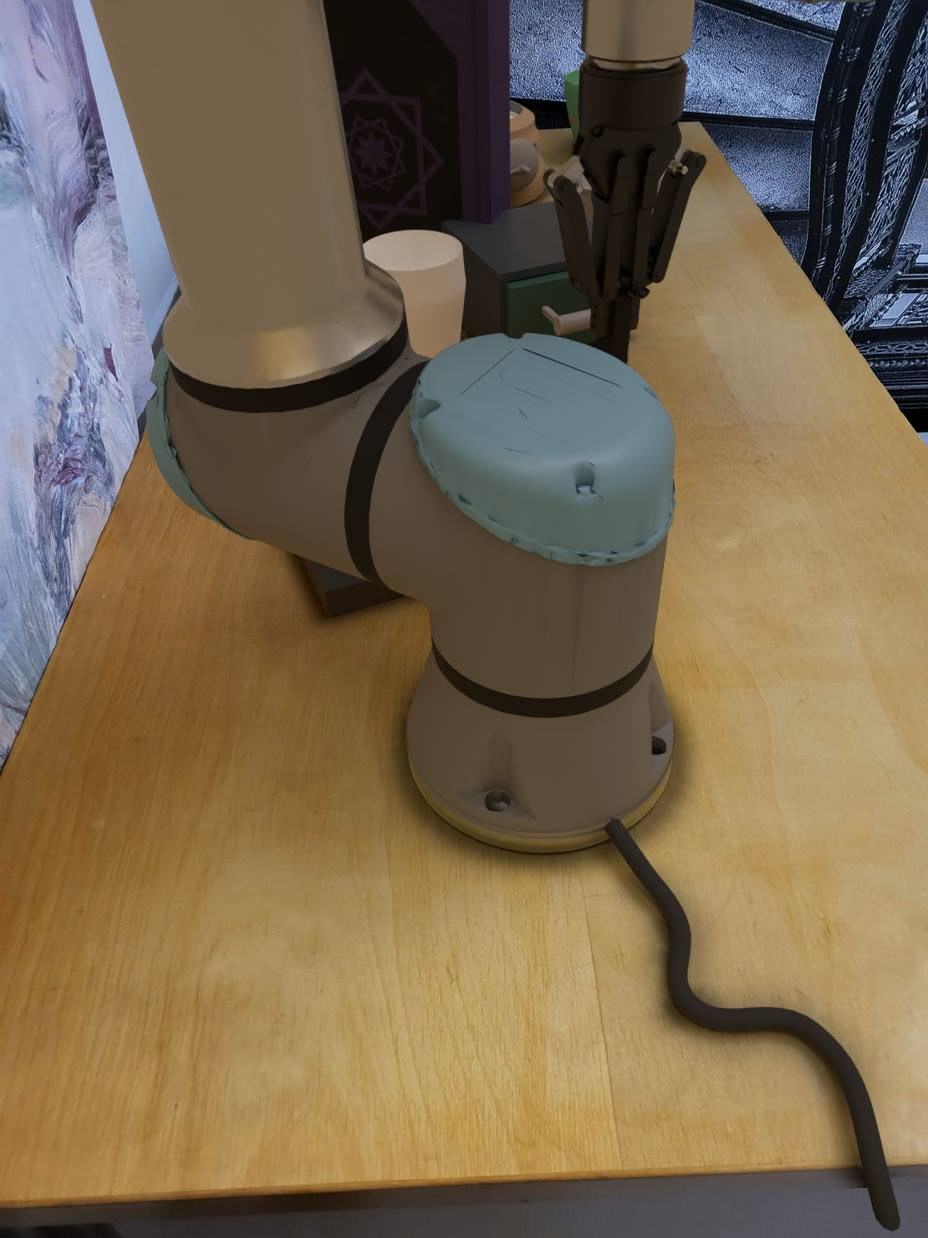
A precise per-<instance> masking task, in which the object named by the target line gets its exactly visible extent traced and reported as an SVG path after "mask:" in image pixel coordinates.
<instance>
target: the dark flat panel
mask: <svg viewBox="0 0 928 1238" xmlns="http://www.w3.org/2000/svg"><path fill="white" fill-rule="evenodd" d="M299 557H300V560H301V562H302V564H303V566H304V568H305V570H306V573H307V574H308V576H309V579H310V581H311V583H312V584H313V587H314V589H315V591H316V593H317V595H318V598H319V599H320V602H321V604H322V607H323V608H324V610H325V612H326V615H327V616H328V618H331V617H334V616H338V615H340V614H345V613H348V612H352V611H354V610H359V609H361V608H366V607H370V606H372V605H377V604H379V603H383V602H386V601H390V600H393V599H396V598H400V597H403V596H405V595H404V594H401V593H398V592H396V591H393V590H390V589H388V588H385V587H383V586H380V585H377V584H374V583H372V582H369V581H366V580H364V579H361V578H358V577H356V576H353V575H350V574H347V573H345V572H342V571H339V570H336V569H334V568H331V567H328V566H326V565H323V564H320V563H317V562H315V561H312V560H309V559H306V558H304V557H301V556H299Z"/></svg>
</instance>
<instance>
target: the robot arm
mask: <svg viewBox="0 0 928 1238" xmlns="http://www.w3.org/2000/svg"><path fill="white" fill-rule="evenodd" d="M792 1H793V2H804V3H807V5H812V6H816V5H817V4H820V3H822V2H823V3H827V2H828V3H870V2H872V1H873V0H791V2H792ZM89 2H90V5H91V9H92V12H93V15H94V18H95V22H96V24H97V29H98V31H99V34H100V37H101V41H102V44H103V47H104V50H105V53H106V57H107V60H108V62H109V66H110V69H111V72H112V75H113V79H114V82H115V86H116V88H117V92H118V95H119V98H120V102H121V104H122V108H123V111H124V114H125V117H126V120H127V124H128V127H129V130H130V133H131V136H132V139H133V143H134V146H135V149H136V153H137V155H138V158H139V162H140V165H141V168H142V172H143V175H144V178H145V181H146V184H147V189H148V191H149V194H150V197H151V200H152V204H153V207H154V210H155V213H156V216H157V220H158V223H159V226H160V229H161V232H162V236H163V240H164V242H165V246H166V249H167V251H168V255H169V258H170V261H171V264H172V268H173V270H174V271H173V272H174V274H175V277H176V280H177V283H178V287H179V290H180V293H181V294H180V295H179V297H178V299H177V300H176V302H175V303H174V305H173V306H172V308H171V309H170V310H169V313H167V316H166V318H165V319H164V322H163V326H162V330H161V331H162V332H161V337H162V343H163V346H162V347H161V348H160V350H159V352H158V354H157V356H156V359H155V361H154V363H153V366H152V370H151V373H150V378H149V381H150V382H151V383H152V384H154V386H155V387H156V390H155V393H154V398H151V399H148V400H147V401H146V404H145V421H146V432H147V437H148V442H149V447H150V449H151V450H150V451H151V452H152V455H153V459H154V461H155V464H156V466H157V468H158V470H159V472H160V474H161V476H162V477H163V479H164V481H165V483H166V484H167V485H168V487H169V488H170V490H171V491H172V492H173V494H175V496H177V498H178V499H179V500H180V501H182V503H184V504H185V506H187V507H188V508H189V509H191V510H193V511H194V512H195V513H197V514H198V515H201V516H203V517H205V518H206V519H208V520H211V521H213V522H214V523H216V524H218V525H219V526H221V527H222V528H223V529H225V530H227V531H229V532H230V533H232V534H234V535H235V536H239V537H240V538H243V539H245V540H248V541H256V542H261V543H262V544H265V545H268V546H271V547H273V548H277V549H279V550H282V551H284V552H288V553H290V554H292V555H296V556H298V557H300V556H301V557H304V558H306V559H309V560H312V561H315V562H317V563H320V564H323V565H326V566H328V567H331V568H334V569H336V570H339V571H342V572H345V573H347V574H350V575H353V576H356V577H358V578H361V579H364V580H366V581H369V582H372V583H374V584H377V585H380V586H383V587H385V588H388V589H390V590H393V591H396V592H398V593H401V594H404V596H407V597H409V598H412V599H414V600H417V601H419V602H421V603H423V604H424V605H425V606H426V608H428V609H427V611H428V618H429V620H428V621H429V627H430V628H429V630H430V639H431V642H430V643H431V647H430V651H429V653H428V656H427V658H426V661H425V664H424V667H423V669H422V672H421V674H420V678H419V681H418V684H417V687H416V690H415V692H414V694H413V697H412V700H411V702H410V706H409V709H408V713H407V717H406V726H405V739H406V746H407V756H408V763H409V767H410V773H411V775H412V778H413V780H414V783H415V785H416V787H417V789H418V790H419V792H420V794H421V796H422V797H423V798H424V800H425V801H426V803H427V804H428V805H429V806H430V807H431V809H432V810H433V811H434V812H435V813H436V814H437V815H439V816H440V817H441V819H443V820H444V821H445V822H447V823H448V824H450V825H451V826H452V827H454V828H455V829H457V830H458V831H460V832H461V833H463V834H465V835H467V836H469V837H471V838H473V839H476V840H477V841H480V842H483V843H485V844H488V845H491V846H494V847H498V848H502V849H504V850H505V849H507V850H511V851H517V852H524V853H535V854H536V853H542V854H546V853H547V854H550V853H551V854H552V853H563V852H570V851H571V852H572V851H576V850H580V849H585V848H589V847H591V846H592V847H593V846H595V845H598V844H602V843H604V842H606V841H608V840H611V842H612V844H613V845H614V846H615V848H616V849H617V851H618V852H619V854H620V855H621V856H622V858H623V860H624V861H625V862H626V864H627V865H628V867H629V868H630V870H631V872H632V873H633V874H634V876H635V877H636V878H637V881H639V883H640V884H641V885H642V886H643V888H644V889H645V891H647V893H648V894H649V895H650V896H651V898H652V899H653V901H654V902H655V903H656V905H657V906H658V907H659V909H660V911H661V912H662V914H663V916H664V918H665V919H666V922H667V925H668V927H669V931H670V938H671V944H670V951H669V958H668V965H667V974H666V980H667V987H668V991H669V994H670V996H671V998H672V1000H673V1002H674V1004H675V1005H676V1006H677V1007H678V1009H679V1010H680V1011H681V1012H682V1013H683V1014H684V1015H685V1016H686V1017H688V1018H689V1019H690V1020H691V1021H693V1022H695V1023H697V1024H698V1025H701V1026H703V1027H704V1028H705V1027H706V1028H709V1029H713V1030H715V1031H724V1032H746V1031H765V1030H772V1031H784V1032H787V1033H792V1034H794V1035H796V1036H797V1037H800V1038H801V1039H802V1040H803V1041H806V1042H807V1043H808V1044H809V1045H810V1046H811V1047H812V1048H813V1049H814V1050H816V1052H817V1053H818V1054H819V1055H820V1056H821V1057H822V1058H823V1060H824V1061H825V1062H826V1063H827V1065H828V1066H829V1068H830V1069H831V1070H832V1072H833V1074H834V1076H835V1077H836V1079H837V1081H838V1084H839V1086H840V1088H841V1091H842V1093H843V1096H844V1099H845V1102H846V1104H847V1108H848V1111H849V1115H850V1119H851V1124H852V1128H853V1132H854V1135H855V1141H856V1146H857V1151H858V1155H859V1160H860V1164H861V1169H862V1173H863V1177H864V1181H865V1185H866V1189H867V1192H868V1195H869V1200H870V1204H871V1208H872V1209H871V1210H872V1212H873V1214H874V1217H875V1220H876V1221H877V1223H879V1225H880V1226H881V1227H882V1228H883V1229H884V1230H887V1231H890V1232H894V1231H895V1232H896V1231H897V1230H899V1228H900V1226H901V1217H900V1211H899V1208H898V1203H897V1199H896V1196H895V1195H896V1194H895V1191H894V1188H893V1184H892V1180H891V1175H890V1173H889V1169H888V1164H887V1161H886V1156H885V1152H884V1147H883V1141H882V1137H881V1134H880V1130H879V1126H878V1121H877V1118H876V1114H875V1110H874V1107H873V1104H872V1103H873V1102H872V1100H871V1097H870V1094H869V1092H868V1089H867V1086H866V1084H865V1082H864V1079H863V1077H862V1075H861V1073H860V1071H859V1069H858V1067H857V1066H856V1063H854V1060H853V1059H852V1057H851V1056H850V1055H849V1053H848V1052H847V1050H846V1049H845V1048H844V1046H843V1045H842V1044H841V1043H840V1042H839V1041H838V1040H837V1039H836V1038H835V1036H833V1035H832V1034H831V1033H830V1032H829V1031H828V1030H827V1029H826V1028H824V1026H822V1025H821V1024H820V1023H818V1022H817V1020H814V1019H812V1018H811V1017H809V1016H808V1015H806V1014H805V1013H801V1012H799V1011H797V1010H794V1009H789V1008H785V1007H777V1006H753V1007H736V1008H735V1007H730V1008H729V1007H718V1006H714V1005H710V1004H708V1003H706V1002H705V1001H703V1000H702V999H701V998H699V997H698V996H697V995H696V994H695V992H694V991H693V990H692V988H691V987H690V983H689V978H688V975H689V974H688V972H689V965H690V957H691V951H692V950H691V949H692V931H691V926H690V923H689V920H688V919H689V918H688V916H687V914H686V912H685V910H684V908H683V905H681V902H680V901H679V899H678V898H677V896H676V895H675V894H674V892H673V890H671V887H669V885H668V884H667V883H666V881H664V879H662V877H661V876H660V874H659V873H658V872H657V871H656V869H655V868H654V867H653V865H652V864H651V863H650V861H649V859H648V858H647V857H646V855H645V853H643V851H642V849H641V848H640V847H639V845H638V844H637V843H636V841H635V840H634V838H633V837H632V836H631V834H630V832H629V831H628V829H630V828H631V827H633V826H635V825H636V824H637V823H638V822H640V820H642V819H643V818H644V817H645V816H646V815H647V814H648V813H649V812H650V811H651V810H652V808H653V807H654V806H655V805H656V803H657V802H658V801H659V799H660V798H661V796H662V795H663V792H664V791H665V788H666V786H667V784H668V781H669V777H670V774H671V769H672V764H673V758H674V757H673V756H674V753H675V752H674V751H675V743H676V730H675V723H674V721H675V720H674V717H673V714H672V709H671V706H670V702H669V700H668V696H667V694H666V691H665V687H664V684H663V681H662V677H661V675H660V671H659V668H658V664H657V663H656V659H655V656H654V652H653V651H654V646H655V645H654V644H655V636H656V629H657V628H656V627H657V620H658V613H659V605H660V599H661V591H662V590H661V589H662V584H663V576H664V569H665V560H666V554H667V545H668V538H669V531H670V529H671V528H672V524H673V522H674V512H675V508H676V504H677V501H676V499H675V496H676V492H677V490H676V485H675V479H674V472H675V457H676V436H675V434H676V433H675V429H674V425H673V424H674V423H673V421H672V418H671V415H670V413H669V411H668V410H667V408H666V407H665V406H664V405H663V404H662V402H661V399H660V396H659V394H658V393H657V392H656V390H655V389H654V387H653V386H652V384H650V383H649V382H648V381H647V379H645V378H644V377H643V376H642V375H641V374H640V373H639V372H638V371H636V370H635V369H634V368H632V367H631V366H630V365H628V362H629V361H628V359H629V350H630V349H629V348H630V347H629V346H630V337H631V331H635V330H637V328H638V325H639V320H640V319H639V318H640V308H641V300H645V299H646V298H648V296H649V294H650V292H651V290H650V289H649V288H648V287H649V286H650V285H652V284H653V283H654V284H660V283H662V282H663V281H664V280H665V277H666V274H667V271H668V268H669V264H670V262H671V257H672V255H673V252H674V248H675V245H676V241H677V239H678V235H679V231H680V228H681V225H682V222H683V219H684V216H685V212H686V208H687V205H688V202H689V199H690V196H691V193H692V189H693V187H694V185H695V184H696V182H697V180H698V179H699V177H700V175H701V174H702V173H703V170H704V169H705V167H706V165H707V157H706V155H705V154H703V153H701V152H699V151H697V150H695V149H692V148H690V147H688V146H686V145H685V144H684V143H683V135H682V131H681V128H680V125H679V119H681V117H682V115H683V113H684V105H685V96H686V87H687V79H688V78H687V77H688V68H689V67H688V64H687V63H686V61H685V59H684V58H683V56H684V55H686V54H687V53H688V52H689V51H690V49H691V47H692V37H693V28H694V27H693V25H694V14H695V6H696V5H695V3H696V0H582V9H581V34H580V50H581V51H582V52H583V53H584V54H585V56H586V57H585V58H584V59H583V61H582V62H581V63H580V65H579V69H578V70H579V91H578V118H579V132H578V135H577V138H576V140H575V142H573V145H572V148H571V154H572V155H571V157H570V158H569V159H568V160H567V161H565V162H564V163H563V164H562V165H561V166H560V167H559V168H558V169H557V170H556V169H553V168H548V169H546V172H545V173H544V175H543V182H544V184H545V189H547V191H548V192H549V194H550V196H551V197H552V199H553V201H555V207H556V212H557V217H558V223H559V228H560V233H561V239H562V244H563V249H564V255H565V260H566V265H567V271H568V276H569V281H570V284H571V286H572V287H574V288H575V289H576V290H577V291H579V292H580V293H581V294H583V295H584V296H585V297H586V298H591V315H590V328H591V331H592V332H593V333H595V334H596V335H597V344H596V347H594V346H592V345H590V346H588V345H586V344H583V343H579V342H576V341H572V340H569V339H565V338H561V337H556V336H551V335H543V334H535V333H524V334H523V335H522V337H521V338H520V339H513V338H509V337H507V336H506V335H505V334H503V333H499V334H490V335H484V336H477V337H474V338H473V337H471V338H467V339H464V340H462V341H460V342H459V343H456V344H454V345H452V346H449V347H447V348H446V349H444V350H442V351H441V352H439V353H438V354H437V355H436V356H435V357H434V358H430V357H426V356H422V355H419V354H416V353H415V352H414V351H413V349H412V347H411V344H410V338H409V330H408V325H407V318H406V311H405V303H404V297H403V293H402V290H401V288H400V286H399V284H398V283H397V281H396V280H395V279H394V278H393V277H392V276H391V275H390V274H389V273H388V272H386V271H385V270H383V269H381V268H380V267H378V266H377V265H375V264H374V263H372V262H371V261H369V260H367V259H366V258H365V254H364V248H363V242H362V236H361V230H360V223H359V217H358V211H357V205H356V199H355V193H354V187H353V181H352V175H351V169H350V163H349V156H348V150H347V144H346V138H345V132H344V126H343V120H342V114H341V108H340V102H339V96H338V90H337V83H336V77H335V71H334V65H333V59H332V53H331V47H330V41H329V35H328V29H327V23H326V17H325V10H324V4H323V0H89ZM665 170H666V171H665ZM664 172H665V173H664ZM582 174H583V175H584V177H585V178H586V180H587V181H588V183H589V185H590V186H591V202H592V205H593V224H592V241H591V246H590V240H589V234H588V228H587V222H586V216H585V210H584V206H583V202H582V200H581V197H580V195H579V194H580V193H582V191H583V187H582V182H581V176H582ZM663 174H664V176H663V178H662V181H661V184H660V188H659V191H658V182H659V180H660V178H661V177H662V175H663ZM657 192H658V195H657ZM653 208H654V209H653ZM652 209H653V212H652ZM618 283H619V284H620V289H619V288H618V287H617V284H618ZM301 557H300V558H301Z"/></svg>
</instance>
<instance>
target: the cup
mask: <svg viewBox="0 0 928 1238" xmlns="http://www.w3.org/2000/svg"><path fill="white" fill-rule="evenodd" d="M363 248H364V254H365V258H366V259H367V260H369V261H371V262H372V263H374V264H375V265H377V266H378V267H380V268H381V269H383V270H385V271H386V272H388V273H389V274H390V275H391V276H392V277H393V278H394V279H395V280H396V281H397V283H398V284H399V286H400V288H401V290H402V293H403V297H404V303H405V311H406V318H407V325H408V330H409V338H410V344H411V347H412V349H413V351H414V352H415V353H416V354H419V355H422V356H426V357H430V358H434V357H435V356H436V355H437V354H438V353H439V352H441V351H442V350H444V349H446V348H447V347H449V346H452V345H454V344H456V343H459V342H461V341H460V340H461V334H462V333H461V332H462V326H461V324H462V315H463V306H464V296H465V287H466V278H465V271H464V261H463V249H462V244H461V243H460V241H459V240H457V239H456V238H454V237H452V236H450V235H448V234H445V233H441V232H436V231H428V230H405V231H397V232H391V233H387V234H383V235H380V236H377V237H375V238H372V239H370V240H369V241H367V242H366V243H364V244H363Z"/></svg>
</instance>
